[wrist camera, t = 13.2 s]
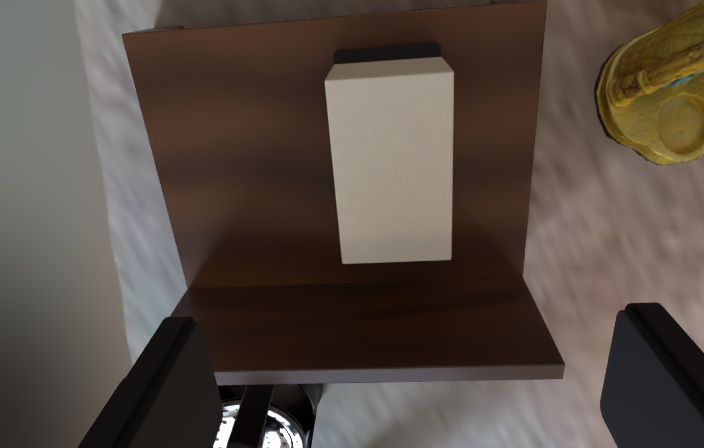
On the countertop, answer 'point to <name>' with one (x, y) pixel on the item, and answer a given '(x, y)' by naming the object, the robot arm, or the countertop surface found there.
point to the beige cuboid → (392, 152)
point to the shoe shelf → (320, 200)
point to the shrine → (657, 91)
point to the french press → (266, 418)
